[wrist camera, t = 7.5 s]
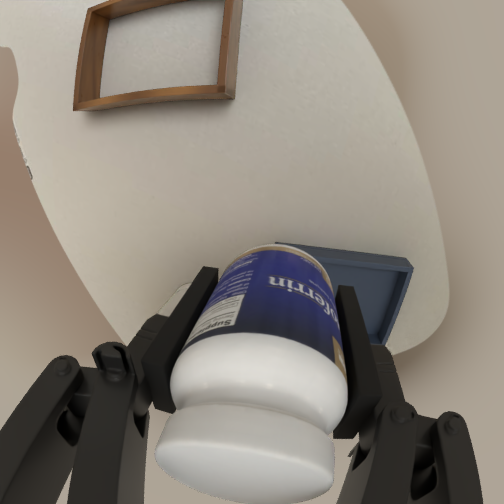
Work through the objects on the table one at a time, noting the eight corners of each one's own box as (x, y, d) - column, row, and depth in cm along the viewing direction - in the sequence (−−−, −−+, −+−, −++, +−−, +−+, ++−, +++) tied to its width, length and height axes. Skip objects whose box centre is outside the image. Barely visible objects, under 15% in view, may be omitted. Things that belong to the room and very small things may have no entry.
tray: (406, 257, 28) (414, 268, 26) (379, 334, 33) (384, 347, 30) (275, 241, 30) (273, 251, 27) (266, 324, 34) (263, 338, 32)
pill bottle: (354, 295, 14) (392, 483, 4) (274, 350, 16) (247, 512, 7) (276, 215, 13) (222, 407, 4) (200, 287, 15) (106, 448, 6)
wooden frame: (244, -10, 19) (236, -27, 15) (234, 99, 24) (225, 93, 21) (106, 16, 21) (87, 8, 17) (94, 111, 26) (72, 111, 23)
